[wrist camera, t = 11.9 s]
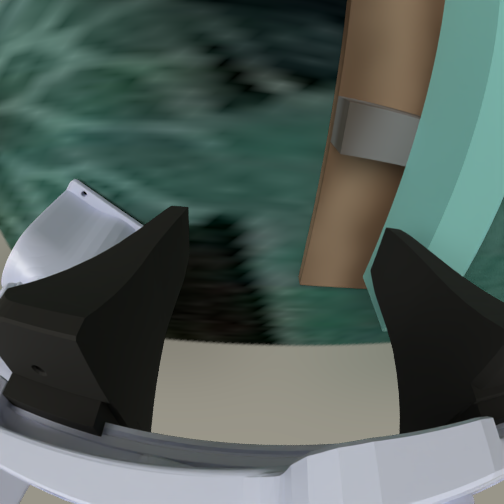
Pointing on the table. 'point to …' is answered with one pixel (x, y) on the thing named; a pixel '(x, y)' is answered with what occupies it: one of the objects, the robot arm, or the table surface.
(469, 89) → the batten
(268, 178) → the table surface
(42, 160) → the table surface
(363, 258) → the balance board
